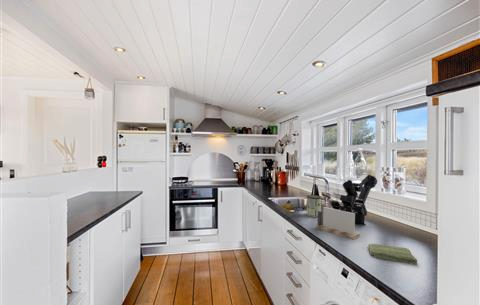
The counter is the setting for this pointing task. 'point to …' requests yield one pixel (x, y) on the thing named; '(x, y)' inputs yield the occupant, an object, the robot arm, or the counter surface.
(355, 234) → the door base
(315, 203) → the glass jar
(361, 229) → the counter surface
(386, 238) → the counter surface
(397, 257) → the washcloth
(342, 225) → the door
